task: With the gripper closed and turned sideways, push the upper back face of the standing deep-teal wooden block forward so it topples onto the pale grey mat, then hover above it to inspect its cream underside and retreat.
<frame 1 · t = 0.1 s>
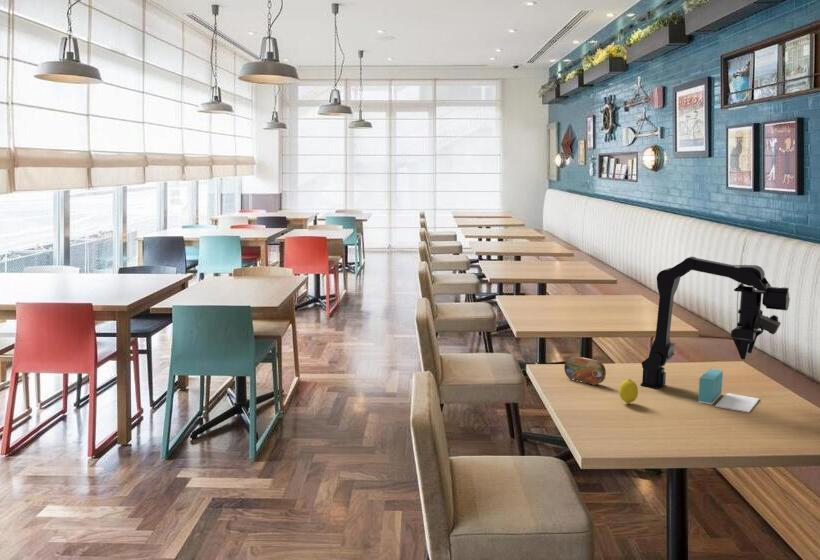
hand: (746, 356, 222), 15 cm above the table, fingers open, 9 cm apart
tin: (584, 382, 245), on the table
teal block: (709, 398, 227), on the table
lemon: (627, 404, 222), on the table
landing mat: (737, 403, 223), on the table
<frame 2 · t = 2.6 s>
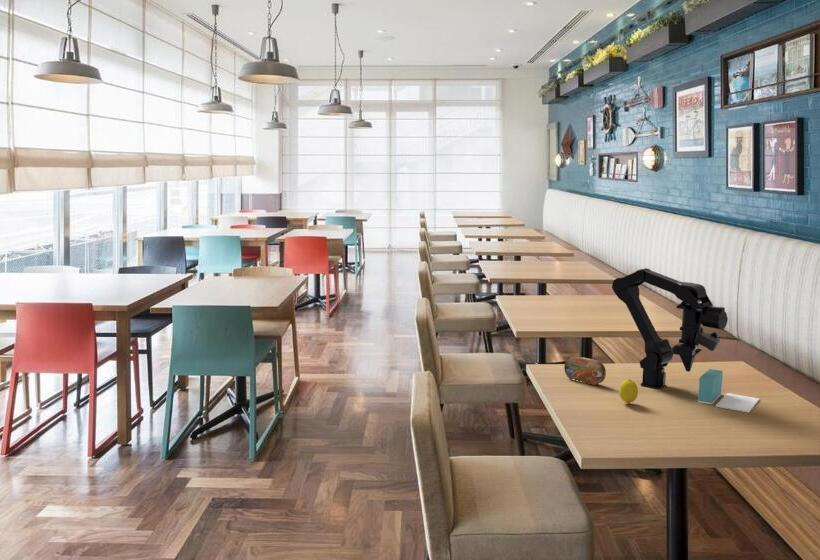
hand: (688, 371, 230), 8 cm above the table, fingers closed
nothing on the table moved.
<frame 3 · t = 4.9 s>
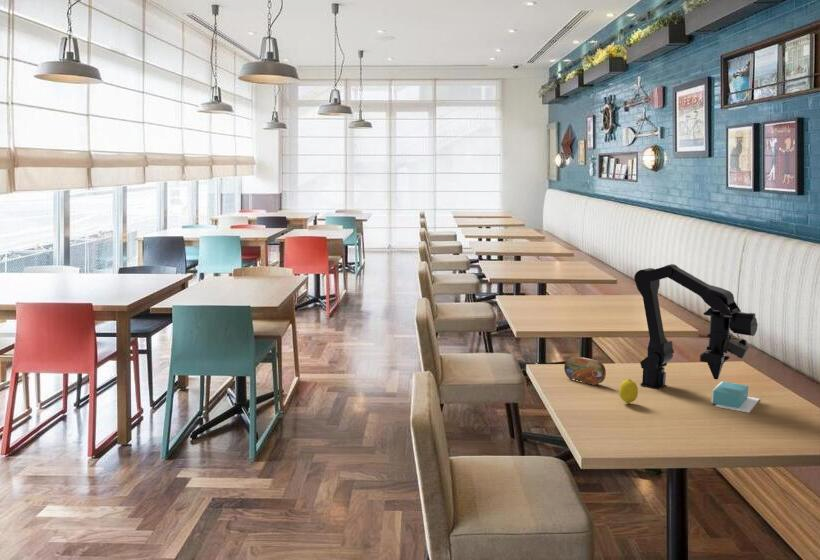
hand: (716, 379, 225), 7 cm above the table, fingers closed
teal block: (716, 391, 226), point 2 cm above the table, tilted 90°, touching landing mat
everything else where it was.
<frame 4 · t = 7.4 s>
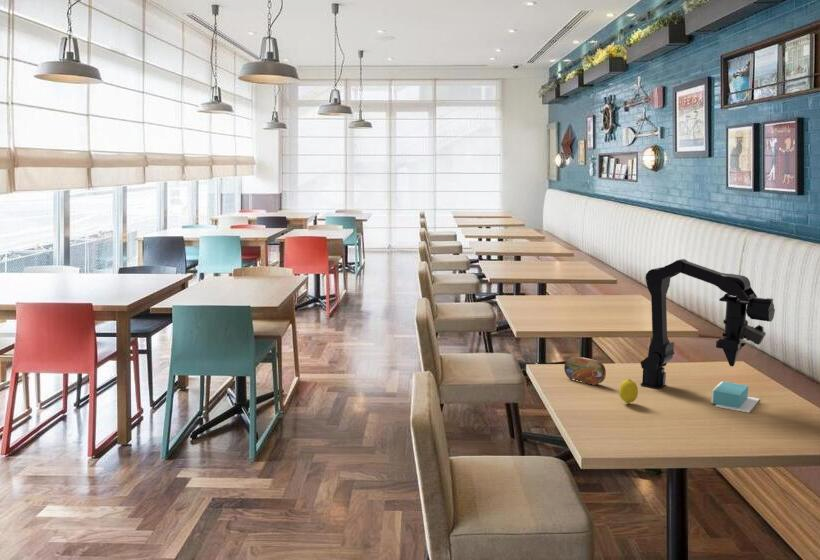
hand: (731, 366, 222), 11 cm above the table, fingers closed
nothing on the table moved.
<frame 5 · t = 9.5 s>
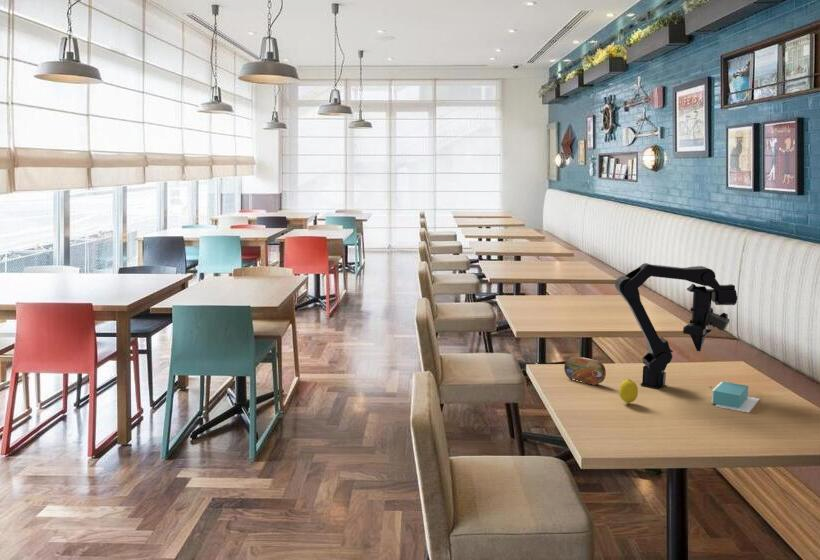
hand: (698, 351, 238), 12 cm above the table, fingers closed
nothing on the table moved.
at the end: teal block tilted 90°; teal block touching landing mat; the gripper is holding nothing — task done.
